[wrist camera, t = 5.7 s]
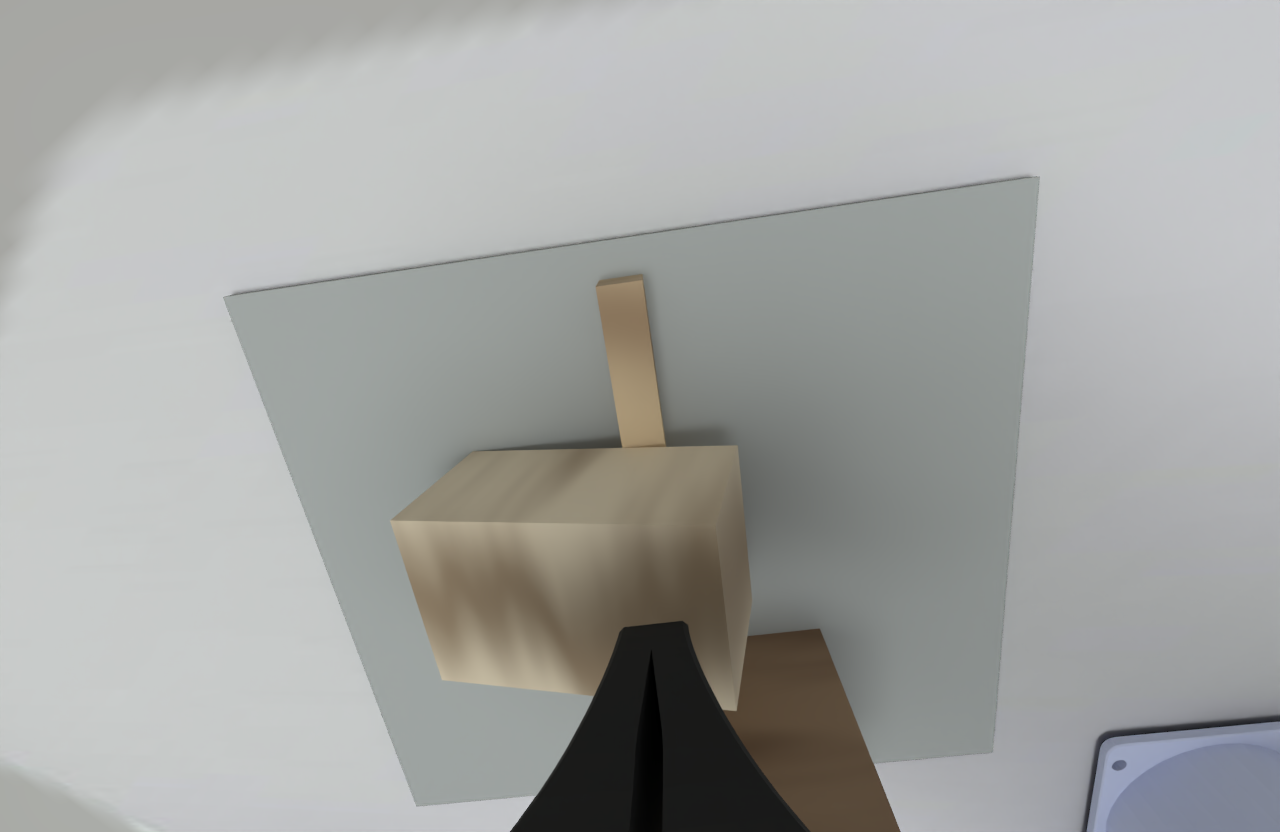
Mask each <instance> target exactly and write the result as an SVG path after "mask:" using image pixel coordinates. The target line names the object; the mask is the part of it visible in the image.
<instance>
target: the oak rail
mask: <svg viewBox="0 0 1280 832" xmlns="http://www.w3.org/2000/svg"><path fill="white" fill-rule="evenodd" d="M596 293H597V299H598V305H599V311H600V317H601V323H602V329H603V335H604V341H605V347H606V353H607V359H608V365H609V371H610V377H611V383H612V389H613V395H614V401H615V407H616V413H617V419H618V425H619V431H620V437H621V443H622V448H640V447H666V440H665V433H664V425H663V418H662V411H661V404H660V396H659V389H658V382H657V375H656V367H655V360H654V353H653V346H652V339H651V331H650V324H649V317H648V310H647V302H646V295H645V288H644V281H643V274H639V275H632V276H625V277H618V278H611V279H604V280H599V281H598V283H597V285H596Z"/></svg>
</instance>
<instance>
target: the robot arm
mask: <svg viewBox="0 0 1280 832" xmlns="http://www.w3.org/2000/svg"><path fill="white" fill-rule="evenodd" d="M510 832H810V830H809V829H808V828H807V827H806V826H805V824H804V823H803V822H802V821H801V820H800V819H799V817H798V816H797V815H796V814H795V813H794V811H793V810H792V809H791V808H790V807H789V805H788V804H787V803H786V802H785V801H784V800H783V798H782V797H781V796H780V795H779V793H778V792H777V791H776V789H775V788H774V787H773V785H772V784H771V783H770V781H769V780H768V779H767V777H766V776H765V775H764V773H763V772H762V770H761V769H760V768H759V766H758V765H757V763H756V762H755V761H754V759H753V758H752V756H751V755H750V753H749V752H748V750H747V749H746V747H745V746H744V744H743V743H742V741H741V740H740V738H739V736H738V735H737V733H736V732H735V730H734V728H733V727H732V725H731V723H730V722H729V720H728V718H727V717H726V715H725V713H724V711H723V710H722V708H721V706H720V704H719V702H718V700H717V698H716V696H715V695H714V693H713V691H712V689H711V687H710V685H709V683H708V681H707V679H706V677H705V674H704V672H703V670H702V668H701V665H700V663H699V661H698V658H697V656H696V653H695V650H694V647H693V644H692V641H691V637H690V633H689V627H688V624H686V623H685V622H683V621H676V622H666V623H657V624H648V625H639V626H630V627H624V628H623V629H622V630H621V631H620V632H619V635H618V638H617V641H616V644H615V647H614V650H613V653H612V655H611V658H610V661H609V663H608V666H607V668H606V670H605V673H604V675H603V678H602V680H601V682H600V684H599V686H598V688H597V691H596V693H595V695H594V697H593V699H592V701H591V703H590V706H589V708H588V710H587V712H586V714H585V716H584V717H583V719H582V721H581V723H580V725H579V727H578V728H577V730H576V732H575V734H574V736H573V738H572V739H571V741H570V743H569V745H568V747H567V748H566V750H565V752H564V754H563V755H562V757H561V759H560V760H559V762H558V764H557V765H556V767H555V768H554V770H553V772H552V773H551V775H550V776H549V778H548V779H547V781H546V782H545V784H544V785H543V787H542V788H541V790H540V791H539V793H538V794H537V796H536V797H535V798H534V800H533V801H532V803H531V804H530V805H529V807H528V808H527V809H526V811H525V812H524V814H523V815H522V816H521V818H520V819H519V821H518V822H517V823H516V825H515V826H514V827H513V828H512V830H511V831H510ZM1087 832H1280V721H1279V722H1268V723H1258V724H1247V725H1236V726H1226V727H1215V728H1205V729H1194V730H1183V731H1173V732H1162V733H1152V734H1141V735H1130V736H1120V737H1112V738H1109V739H1107V740H1105V741H1104V742H1103V743H1102V745H1101V748H1100V753H1099V759H1098V765H1097V771H1096V777H1095V783H1094V789H1093V795H1092V801H1091V807H1090V814H1089V820H1088V826H1087Z"/></svg>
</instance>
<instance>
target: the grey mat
mask: <svg viewBox="0 0 1280 832" xmlns="http://www.w3.org/2000/svg"><path fill="white" fill-rule="evenodd" d="M1039 179H1040V177H1027V178H1020V179H1013V180H1007V181H1000V182H993V183H986V184H979V185H973V186H966V187H959V188H952V189H946V190H939V191H932V192H925V193H919V194H912V195H905V196H898V197H891V198H885V199H878V200H871V201H864V202H858V203H851V204H844V205H837V206H831V207H824V208H817V209H810V210H804V211H797V212H790V213H783V214H776V215H770V216H763V217H756V218H749V219H743V220H736V221H729V222H722V223H716V224H709V225H702V226H695V227H688V228H682V229H675V230H668V231H661V232H655V233H648V234H641V235H634V236H628V237H621V238H614V239H607V240H601V241H594V242H587V243H580V244H573V245H567V246H560V247H553V248H546V249H540V250H533V251H526V252H519V253H513V254H506V255H499V256H492V257H485V258H479V259H472V260H465V261H458V262H452V263H445V264H438V265H431V266H425V267H418V268H411V269H404V270H397V271H391V272H384V273H377V274H370V275H364V276H357V277H350V278H343V279H337V280H330V281H323V282H316V283H310V284H303V285H296V286H289V287H282V288H276V289H269V290H262V291H255V292H249V293H242V294H235V295H230V296H226V297H223V299H224V301H225V304H226V307H227V309H228V312H229V314H230V317H231V320H232V322H233V325H234V328H235V330H236V333H237V335H238V338H239V341H240V343H241V346H242V349H243V351H244V354H245V356H246V359H247V362H248V364H249V367H250V370H251V372H252V375H253V378H254V380H255V383H256V385H257V388H258V391H259V393H260V396H261V399H262V401H263V404H264V406H265V409H266V412H267V414H268V417H269V420H270V422H271V425H272V427H273V430H274V433H275V435H276V438H277V441H278V443H279V446H280V449H281V451H282V454H283V456H284V459H285V462H286V464H287V467H288V470H289V472H290V475H291V477H292V480H293V483H294V485H295V488H296V491H297V493H298V496H299V498H300V501H301V504H302V506H303V509H304V512H305V514H306V517H307V520H308V522H309V525H310V527H311V530H312V533H313V535H314V538H315V541H316V543H317V546H318V548H319V551H320V554H321V556H322V559H323V562H324V564H325V567H326V570H327V572H328V575H329V577H330V580H331V583H332V585H333V588H334V591H335V593H336V596H337V598H338V601H339V604H340V606H341V609H342V612H343V614H344V617H345V619H346V622H347V625H348V627H349V630H350V633H351V635H352V638H353V641H354V643H355V646H356V648H357V651H358V654H359V656H360V659H361V662H362V664H363V667H364V669H365V672H366V675H367V677H368V680H369V683H370V685H371V688H372V690H373V693H374V696H375V698H376V701H377V704H378V706H379V709H380V712H381V714H382V717H383V719H384V722H385V725H386V727H387V730H388V733H389V735H390V738H391V740H392V743H393V746H394V748H395V751H396V754H397V756H398V759H399V761H400V764H401V767H402V769H403V772H404V775H405V777H406V780H407V783H408V785H409V788H410V790H411V793H412V796H413V798H414V801H415V804H416V806H428V805H439V804H449V803H460V802H471V801H481V800H492V799H503V798H513V797H524V796H535V795H537V794H538V793H539V791H540V790H541V788H542V787H543V785H544V784H545V782H546V781H547V779H548V778H549V776H550V775H551V773H552V772H553V770H554V768H555V767H556V765H557V764H558V762H559V760H560V759H561V757H562V755H563V754H564V752H565V750H566V748H567V747H568V745H569V743H570V741H571V739H572V738H573V736H574V734H575V732H576V730H577V728H578V727H579V725H580V723H581V721H582V719H583V717H584V716H585V714H586V712H587V710H588V708H589V706H590V703H591V701H592V699H593V697H594V696H588V695H578V694H569V693H559V692H550V691H540V690H531V689H521V688H512V687H502V686H493V685H483V684H474V683H464V682H455V681H445V680H442V679H441V676H440V672H439V669H438V666H437V663H436V660H435V657H434V654H433V651H432V648H431V645H430V642H429V639H428V636H427V633H426V630H425V627H424V623H423V620H422V617H421V614H420V611H419V608H418V605H417V602H416V599H415V596H414V593H413V590H412V587H411V584H410V581H409V577H408V574H407V571H406V568H405V565H404V562H403V559H402V556H401V553H400V550H399V547H398V544H397V541H396V538H395V535H394V532H393V528H392V525H391V522H390V520H391V519H392V518H394V517H395V516H396V515H397V514H398V513H400V512H401V511H402V510H403V509H404V508H406V507H407V506H408V505H409V504H410V503H412V502H413V501H414V500H415V499H416V498H418V497H419V496H420V495H421V494H422V493H424V492H425V491H426V490H427V489H428V488H430V487H431V486H432V485H433V484H434V483H436V482H437V481H438V480H439V479H440V478H441V477H443V476H444V475H445V474H446V473H447V472H449V471H450V470H451V469H452V468H453V467H455V466H456V465H457V464H458V463H459V462H461V461H462V460H463V459H464V458H465V457H467V456H468V455H469V454H470V453H471V452H473V451H508V450H552V449H596V448H622V443H621V437H620V431H619V425H618V419H617V413H616V407H615V401H614V395H613V389H612V383H611V377H610V371H609V365H608V359H607V353H606V347H605V341H604V335H603V329H602V323H601V317H600V311H599V305H598V299H597V293H596V285H597V283H598V281H599V280H604V279H611V278H618V277H625V276H632V275H639V274H643V281H644V288H645V295H646V302H647V310H648V317H649V324H650V331H651V339H652V346H653V353H654V360H655V367H656V375H657V382H658V389H659V396H660V404H661V411H662V418H663V425H664V433H665V440H666V447H684V446H728V445H738V453H739V464H740V474H741V485H742V496H743V506H744V517H745V528H746V538H747V549H748V560H749V570H750V581H751V592H752V607H751V614H750V621H749V628H748V635H747V636H754V635H763V634H773V633H782V632H791V631H800V630H810V629H819V628H820V630H821V633H822V635H823V638H824V640H825V643H826V645H827V648H828V650H829V653H830V655H831V658H832V660H833V663H834V665H835V668H836V670H837V673H838V676H839V678H840V681H841V683H842V686H843V688H844V691H845V693H846V696H847V698H848V701H849V703H850V706H851V708H852V711H853V713H854V716H855V718H856V721H857V723H858V726H859V728H860V731H861V734H862V736H863V739H864V741H865V744H866V746H867V749H868V751H869V754H870V756H871V759H872V761H873V764H875V763H886V762H896V761H907V760H918V759H928V758H939V757H950V756H960V755H971V754H982V753H992V752H993V744H994V731H995V719H996V707H997V694H998V682H999V670H1000V658H1001V645H1002V633H1003V621H1004V609H1005V596H1006V584H1007V572H1008V559H1009V547H1010V535H1011V523H1012V510H1013V498H1014V486H1015V474H1016V461H1017V449H1018V437H1019V425H1020V412H1021V400H1022V388H1023V375H1024V363H1025V351H1026V339H1027V326H1028V314H1029V302H1030V290H1031V277H1032V265H1033V253H1034V240H1035V228H1036V216H1037V204H1038V191H1039Z"/></svg>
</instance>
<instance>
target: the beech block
mask: <svg viewBox="0 0 1280 832" xmlns="http://www.w3.org/2000/svg"><path fill="white" fill-rule="evenodd" d="M390 522H391V525H392V528H393V532H394V535H395V538H396V541H397V544H398V547H399V550H400V553H401V556H402V559H403V562H404V565H405V568H406V571H407V574H408V577H409V581H410V584H411V587H412V590H413V593H414V596H415V599H416V602H417V605H418V608H419V611H420V614H421V617H422V620H423V623H424V627H425V630H426V633H427V636H428V639H429V642H430V645H431V648H432V651H433V654H434V657H435V660H436V663H437V666H438V669H439V672H440V676H441V679H442V680H445V681H455V682H464V683H474V684H483V685H493V686H502V687H512V688H521V689H531V690H540V691H550V692H559V693H569V694H578V695H588V696H594V695H595V693H596V691H597V688H598V686H599V684H600V682H601V680H602V678H603V675H604V673H605V670H606V668H607V666H608V663H609V661H610V658H611V655H612V653H613V650H614V647H615V644H616V641H617V638H618V635H619V632H620V631H621V630H622V629H623V628H624V627H630V626H639V625H648V624H657V623H666V622H676V621H683V622H685V623H686V624H688V627H689V633H690V637H691V641H692V644H693V647H694V650H695V653H696V656H697V658H698V661H699V663H700V665H701V668H702V670H703V672H704V674H705V677H706V679H707V681H708V683H709V685H710V687H711V689H712V691H713V693H714V695H715V696H716V698H717V700H718V702H719V704H720V706H721V708H722V710H730V711H737V705H738V698H739V691H740V684H741V677H742V670H743V663H744V656H745V649H746V642H747V635H748V628H749V621H750V614H751V607H752V592H751V581H750V570H749V560H748V549H747V538H746V528H745V517H744V506H743V496H742V485H741V474H740V464H739V453H738V445H728V446H684V447H640V448H596V449H552V450H508V451H473V452H471V453H470V454H469V455H468V456H467V457H465V458H464V459H463V460H462V461H461V462H459V463H458V464H457V465H456V466H455V467H453V468H452V469H451V470H450V471H449V472H447V473H446V474H445V475H444V476H443V477H441V478H440V479H439V480H438V481H437V482H436V483H434V484H433V485H432V486H431V487H430V488H428V489H427V490H426V491H425V492H424V493H422V494H421V495H420V496H419V497H418V498H416V499H415V500H414V501H413V502H412V503H410V504H409V505H408V506H407V507H406V508H404V509H403V510H402V511H401V512H400V513H398V514H397V515H396V516H395V517H394V518H392V519H391V520H390Z"/></svg>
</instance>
